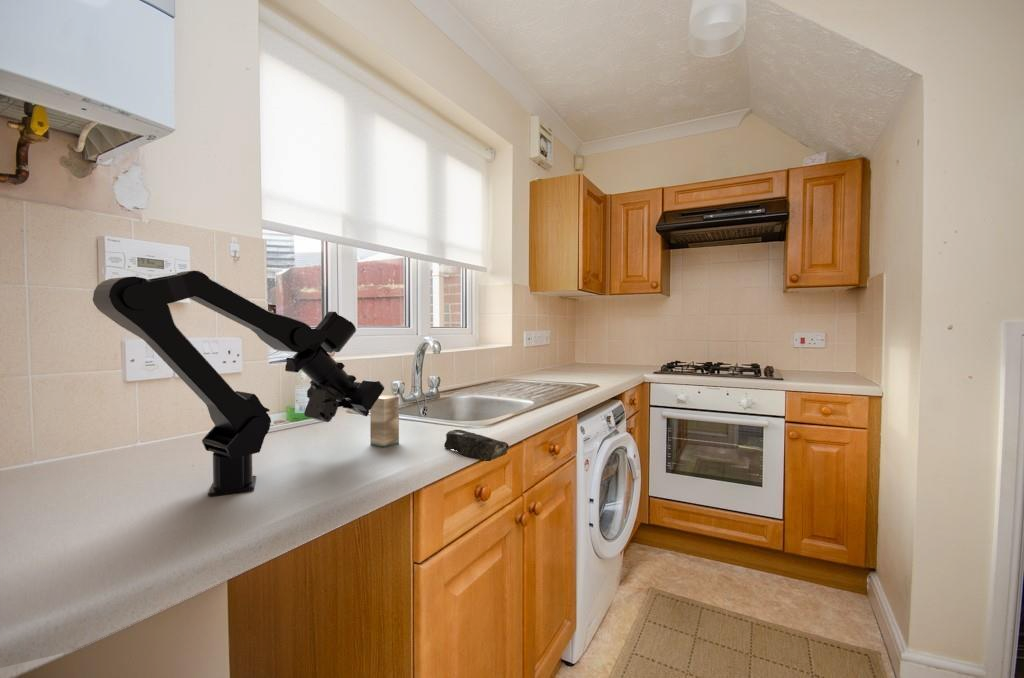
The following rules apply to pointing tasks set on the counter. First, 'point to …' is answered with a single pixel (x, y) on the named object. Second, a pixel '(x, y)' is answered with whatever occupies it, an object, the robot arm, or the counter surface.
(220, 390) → the robot arm
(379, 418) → the block
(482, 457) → the rock
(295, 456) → the counter surface
